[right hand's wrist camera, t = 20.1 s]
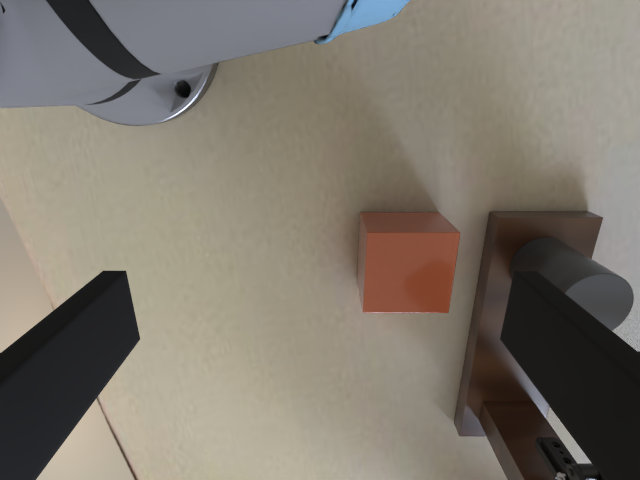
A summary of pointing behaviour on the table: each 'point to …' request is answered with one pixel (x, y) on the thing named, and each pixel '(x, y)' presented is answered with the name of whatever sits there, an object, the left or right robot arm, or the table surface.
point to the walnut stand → (488, 316)
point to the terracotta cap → (406, 262)
